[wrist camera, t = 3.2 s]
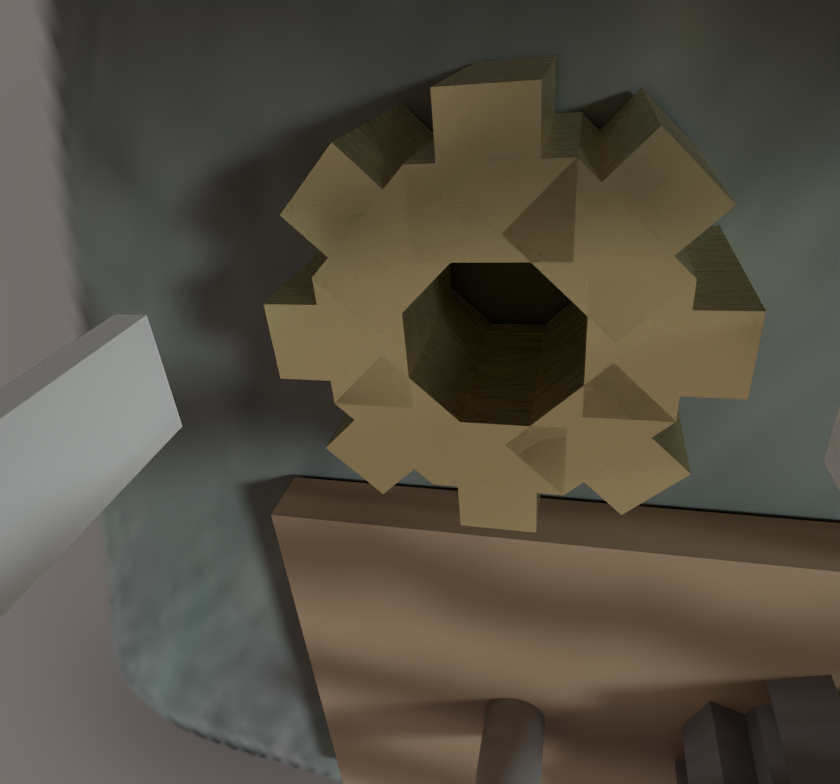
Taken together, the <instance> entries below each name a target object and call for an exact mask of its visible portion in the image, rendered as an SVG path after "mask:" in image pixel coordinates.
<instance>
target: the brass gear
mask: <svg viewBox="0 0 840 784" xmlns="http://www.w3.org/2000/svg"><path fill="white" fill-rule="evenodd" d="M556 81H557V55H553V56H541V57H528V58H515V59H502V60H490V61H477V62H475V63H473V64H471V65H470V66H468V67H466V68H464V69H462V70H461V71H459V72H457V73H455V74H453V75H452V76H450V77H448V78H446V79H444V80H443V81H441V82H439V83H437V84H435V85H434V86H432V87H430V90H431V105H432V119H433V132H432V131H431V130H429V129H428V128H427V127H426V126H425V125H424V124H423V123H422V122H421V121H420V120H419V119H418V118H417V117H416V116H415V115H414V114H413V113H412V112H411V111H410V110H409V109H408V108H407V107H406V106H405V105H404V104H403V103H401V104H400V105H398V106H396V107H394V108H392V109H391V110H389V111H387V112H385V113H383V114H381V115H380V116H378V117H376V118H374V119H372V120H371V121H369V122H367V123H365V124H363V125H362V126H360V127H358V128H356V129H354V130H353V131H351V132H349V133H347V134H345V135H344V136H342V137H340V138H338V139H336V140H335V141H333V142H331V144H330V145H329V147H328V148H327V149H326V151H325V152H324V154H323V155H322V156H321V158H320V159H319V161H318V162H317V163H316V165H315V166H314V168H313V169H312V171H311V172H310V173H309V175H308V176H307V178H306V179H305V180H304V182H303V183H302V185H301V186H300V187H299V189H298V190H297V192H296V193H295V195H294V196H293V197H292V199H291V200H290V202H289V203H288V204H287V206H286V207H285V209H284V210H283V211H282V213H281V214H280V216H281V217H282V218H283V219H285V220H286V221H287V222H288V223H289V224H290V225H291V226H293V227H294V228H295V229H296V230H297V231H298V232H299V233H301V234H302V235H303V236H304V237H305V238H306V239H307V240H309V241H310V242H311V243H312V244H313V245H314V246H315V247H317V248H318V249H319V250H320V252H319V253H318V254H317V255H316V256H315V257H314V258H313V259H312V260H311V261H310V262H308V263H307V264H306V265H305V266H304V267H303V268H302V269H301V270H300V271H299V272H298V273H297V274H296V275H295V276H293V277H292V278H291V279H290V280H289V281H288V282H287V283H286V284H285V285H284V286H283V287H282V288H281V289H279V290H278V291H277V292H276V293H275V294H274V295H273V296H272V297H271V298H270V299H269V300H268V301H267V302H266V303H264V308H265V313H266V317H267V321H268V326H269V330H270V335H271V339H272V343H273V348H274V352H275V357H276V361H277V366H278V370H279V374H280V379H302V380H325V381H331V386H332V392H333V397H334V403H335V404H336V405H337V406H338V407H339V408H341V409H342V410H343V411H344V412H346V415H345V416H344V418H343V420H342V421H341V423H340V425H339V426H338V428H337V430H336V432H335V433H334V435H333V437H332V438H331V440H330V442H329V443H328V445H327V447H326V449H328V450H329V451H330V452H331V453H333V454H334V455H335V456H336V457H338V458H339V459H340V460H341V461H343V462H344V463H345V464H346V465H348V466H349V467H350V468H351V469H353V470H354V471H355V472H356V473H358V474H359V475H360V476H361V477H363V478H364V479H365V480H366V481H368V482H369V483H370V484H371V485H373V486H374V487H375V488H376V489H378V490H379V491H380V492H381V493H383V494H384V493H385V492H387V491H388V490H389V489H390V488H391V487H393V486H394V485H395V484H396V483H398V482H399V481H400V480H401V479H402V478H404V477H405V476H406V475H407V474H409V473H410V472H411V471H412V470H413V469H415V470H416V471H417V472H419V473H420V474H421V475H422V476H423V477H425V478H426V479H427V480H428V481H429V482H431V483H432V484H433V485H446V486H458V495H459V509H460V524H461V525H463V526H473V527H483V528H494V529H504V530H514V531H524V532H535V533H536V530H537V521H538V512H539V503H540V494H541V493H543V494H555V495H565V494H566V493H568V492H569V491H571V490H572V489H574V488H575V487H577V486H578V485H580V484H582V483H583V482H584V483H586V484H587V485H588V486H589V487H590V488H591V489H592V490H594V491H595V492H596V493H597V494H598V495H599V496H600V497H602V498H603V499H604V500H605V501H606V502H607V503H608V504H610V505H611V506H612V507H613V508H614V509H615V510H616V511H618V512H619V513H620V514H621V515H623V514H624V513H626V512H628V511H629V510H631V509H633V508H634V507H636V506H638V505H640V504H641V503H643V502H645V501H646V500H648V499H650V498H651V497H653V496H655V495H656V494H658V493H660V492H661V491H663V490H665V489H667V488H668V487H670V486H672V485H673V484H675V483H677V482H678V481H680V480H682V479H683V478H685V477H687V476H688V475H690V474H691V472H690V467H689V462H688V457H687V452H686V447H685V442H684V437H683V432H682V428H681V423H680V418H679V413H678V405H679V398H680V396H684V397H706V398H729V399H748V396H749V391H750V386H751V381H752V376H753V372H754V367H755V362H756V357H757V353H758V348H759V343H760V338H761V334H762V329H763V324H764V319H765V315H766V310H765V308H764V307H763V305H762V303H761V301H760V299H759V297H758V296H757V294H756V292H755V290H754V288H753V286H752V285H751V283H750V281H749V279H748V277H747V275H746V274H745V272H744V270H743V268H742V266H741V264H740V263H739V261H738V259H737V257H736V255H735V253H734V252H733V250H732V248H731V246H730V244H729V242H728V241H727V239H726V237H725V235H724V233H723V231H722V230H721V228H720V226H711V225H713V224H714V223H715V222H716V221H717V220H719V219H720V218H721V217H722V216H724V215H725V214H726V213H727V212H728V211H730V210H731V209H732V208H733V207H735V206H736V204H735V203H734V201H733V200H732V198H731V197H730V195H729V194H728V193H727V191H726V190H725V188H724V187H723V185H722V184H721V182H720V181H719V179H718V178H717V176H716V175H715V173H714V172H713V170H712V169H711V167H710V166H709V165H708V163H707V162H706V160H705V159H704V157H703V156H702V154H701V153H700V151H699V150H698V148H697V147H696V145H695V144H694V143H693V142H692V141H691V140H690V139H689V138H688V137H687V136H686V135H685V134H684V132H683V131H682V130H681V129H680V128H679V127H678V126H677V125H676V124H675V123H674V122H673V121H672V120H671V118H670V117H669V116H668V115H667V114H666V113H665V112H664V111H663V110H662V109H661V108H660V107H659V106H658V104H657V103H656V102H655V101H654V100H653V99H652V98H651V97H650V96H649V95H648V94H647V93H646V92H645V91H644V89H643V88H641V89H640V90H639V91H638V92H637V93H636V94H635V95H634V96H633V97H632V98H631V99H630V100H629V101H628V102H627V103H626V104H625V105H624V106H623V107H622V108H621V109H620V110H619V111H618V112H617V113H616V114H615V115H614V116H613V117H612V118H611V119H610V120H609V121H608V123H607V124H606V125H605V126H604V127H603V128H602V129H601V130H599V129H598V128H597V127H596V126H595V125H594V124H593V123H592V122H591V121H590V120H589V119H588V118H587V117H586V116H585V115H584V113H583V112H572V113H556ZM515 262H531V263H532V264H533V265H534V266H535V267H536V268H537V269H538V270H539V271H540V272H541V273H542V274H544V275H545V276H546V277H547V278H548V279H549V280H550V281H551V282H552V283H553V284H554V285H555V286H556V287H557V288H558V289H559V290H560V291H561V292H562V293H563V294H565V295H566V296H567V297H568V298H569V299H570V300H571V301H572V302H571V303H570V304H569V305H568V306H567V307H566V308H564V309H563V310H562V311H561V312H560V313H559V314H557V315H556V316H555V317H554V318H553V319H552V320H550V321H549V322H548V323H547V324H546V325H523V324H491V323H490V322H489V321H488V320H487V319H486V318H484V317H483V316H482V315H481V314H480V313H479V312H478V311H477V310H476V309H475V308H473V307H472V306H471V305H470V304H469V303H468V302H467V301H466V300H465V299H464V298H462V297H461V296H460V295H459V294H458V293H457V292H456V291H455V290H454V289H453V288H452V273H451V263H515Z"/></svg>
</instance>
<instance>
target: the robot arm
mask: <svg viewBox="0 0 840 784" xmlns="http://www.w3.org/2000/svg"><path fill="white" fill-rule="evenodd" d="M181 427H182V423H181V420H180V417H179V414H178V411H177V408H176V405H175V402H174V398H173V395H172V392H171V389H170V386H169V383H168V380H167V377H166V374H165V371H164V367H163V364H162V361H161V358H160V355H159V352H158V349H157V346H156V343H155V339H154V336H153V333H152V330H151V327H150V324H149V321H148V318H147V315H113V316H112V317H110V318H109V319H107V320H106V321H104V322H102V323H101V324H99V325H98V326H96V327H95V328H93V329H92V330H90V331H89V332H87V333H86V334H84V335H83V336H81V337H80V338H78V339H77V340H75V341H74V342H72V343H71V344H69V345H68V346H66V347H65V348H63V349H62V350H60V351H59V352H57V353H56V354H54V355H53V356H51V357H49V358H48V359H46V360H45V361H43V362H42V363H40V364H39V365H38V366H36V367H34V368H33V369H31V370H30V371H28V372H27V373H25V374H24V375H22V376H21V377H19V378H18V379H16V380H15V381H13V382H12V383H10V384H9V385H7V386H6V387H4V388H3V389H1V390H0V618H1V617H2V616H3V615H4V614H5V613H6V612H7V611H8V610H9V609H10V608H11V607H12V606H13V605H14V604H15V602H16V601H17V600H18V599H19V598H20V597H21V596H22V595H23V594H24V593H25V592H26V591H27V590H28V589H29V588H30V587H31V586H32V585H33V583H34V582H35V581H36V580H37V579H38V578H39V577H40V576H41V575H42V574H43V573H44V572H45V571H46V570H47V568H48V567H50V566H51V564H52V563H53V562H54V561H55V560H56V559H57V558H58V557H59V556H60V555H61V554H62V553H63V552H64V551H65V550H66V549H67V548H68V547H69V546H70V544H71V543H72V542H73V541H74V540H75V539H76V538H77V537H78V536H79V535H80V534H81V533H82V532H83V531H84V529H86V528H87V527H88V525H89V524H90V523H91V522H92V521H93V520H94V519H95V518H96V517H97V516H98V515H99V514H100V513H101V512H102V511H103V510H104V509H105V508H106V506H107V505H108V504H109V503H110V502H111V501H112V500H113V499H114V498H115V497H116V496H117V495H118V494H119V493H120V492H121V491H122V490H123V489H124V488H125V486H126V485H127V484H128V483H129V482H130V481H131V480H132V479H133V478H134V477H135V476H136V475H137V474H138V473H139V472H140V471H141V470H142V469H143V467H144V466H145V465H146V464H147V463H148V462H149V461H150V460H151V459H152V458H153V457H154V456H155V455H156V454H157V453H158V452H159V451H160V450H161V448H162V447H163V446H164V445H165V444H166V443H167V442H168V441H169V440H170V439H171V438H172V437H173V436H174V435H175V434H176V433H177V432H178V431H179V429H180V428H181ZM824 463H825V465H826V467H827V468H828V470H829V472H830V474H831V476H832V478H833V480H834V481H835V483H836V485H837V487H838V489H839V491H840V407H839V410H838V413H837V417H836V420H835V424H834V427H833V431H832V434H831V437H830V441H829V444H828V448H827V451H826V455H825V458H824Z"/></svg>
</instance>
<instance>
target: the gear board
mask: <svg viewBox="0 0 840 784" xmlns="http://www.w3.org/2000/svg"><path fill="white" fill-rule="evenodd" d="M271 517H272V521H273V525H274V528H275V532H276V536H277V539H278V543H279V547H280V550H281V554H282V558H283V562H284V565H285V569H286V573H287V576H288V580H289V584H290V588H291V591H292V595H293V599H294V602H295V606H296V610H297V614H298V617H299V621H300V625H301V628H302V632H303V636H304V640H305V643H306V647H307V651H308V654H309V658H310V662H311V666H312V669H313V673H314V677H315V680H316V684H317V688H318V692H319V695H320V699H321V703H322V706H323V710H324V714H325V717H326V721H327V725H328V729H329V732H330V736H331V740H332V743H333V747H334V751H335V755H336V758H337V762H338V766H339V769H340V773H341V777H342V781H343V784H840V523H832V522H820V521H808V520H796V519H784V518H772V517H760V516H749V515H737V514H725V513H713V512H701V511H689V510H677V509H665V508H654V507H642V506H636V507H634V508H633V509H631V510H629V511H628V512H626V513H624V514H623V515H621V514H620V513H619V512H618V511H616V510H615V509H614V508H613V507H612V506H611V505H610V504H606V503H594V502H582V501H571V500H559V499H547V498H540V503H539V512H538V521H537V530H536V533H535V532H524V531H514V530H504V529H494V528H483V527H473V526H463V525H461V524H460V509H459V495H458V491H452V490H440V489H428V488H416V487H404V486H393V487H391V488H390V489H389V490H388V491H387V492H385V493H384V494H383V493H381V492H380V491H379V490H378V489H376V488H375V487H374V486H373V485H371V484H369V483H357V482H345V481H333V480H321V479H309V478H298V477H294V479H293V480H292V482H291V483H290V485H289V487H288V488H287V490H286V491H285V493H284V495H283V496H282V498H281V499H280V501H279V503H278V504H277V506H276V507H275V509H274V511H273V512H272V514H271Z"/></svg>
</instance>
